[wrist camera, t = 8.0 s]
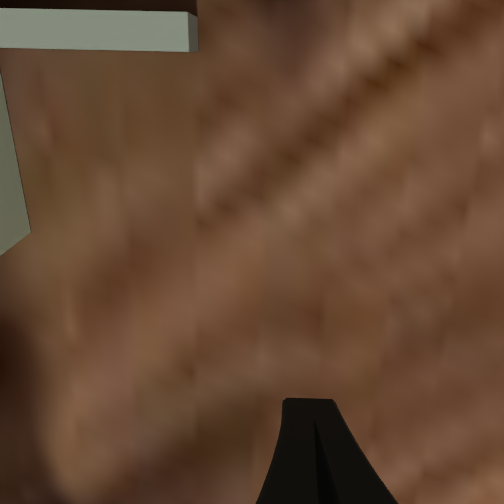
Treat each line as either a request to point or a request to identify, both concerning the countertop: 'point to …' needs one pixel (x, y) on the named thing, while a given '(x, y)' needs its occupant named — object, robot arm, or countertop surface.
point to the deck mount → (75, 37)
